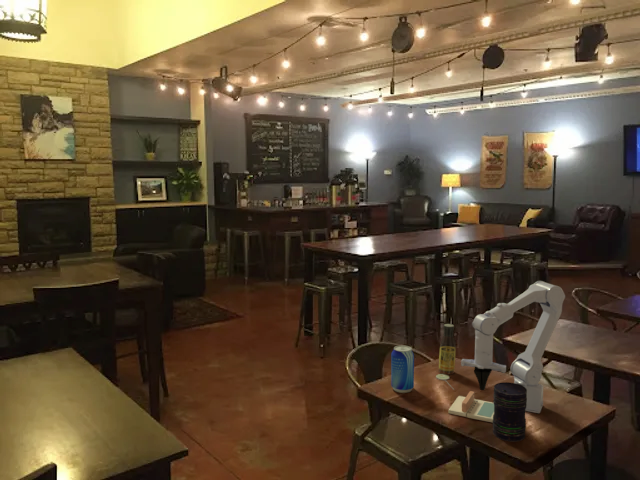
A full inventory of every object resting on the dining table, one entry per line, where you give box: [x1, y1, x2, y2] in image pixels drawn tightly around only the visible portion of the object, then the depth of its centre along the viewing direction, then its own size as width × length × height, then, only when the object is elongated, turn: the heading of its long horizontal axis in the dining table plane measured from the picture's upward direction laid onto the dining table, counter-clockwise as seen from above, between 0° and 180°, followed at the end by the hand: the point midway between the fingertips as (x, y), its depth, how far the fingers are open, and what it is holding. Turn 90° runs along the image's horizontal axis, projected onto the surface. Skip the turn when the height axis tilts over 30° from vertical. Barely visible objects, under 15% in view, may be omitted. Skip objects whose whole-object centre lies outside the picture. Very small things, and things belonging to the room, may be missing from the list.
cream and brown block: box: [447, 390, 476, 418], centre depth 193 cm, size 6×13×4 cm, turn 151°
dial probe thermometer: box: [435, 373, 455, 391], centre depth 216 cm, size 5×1×15 cm
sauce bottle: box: [438, 323, 457, 376], centre depth 225 cm, size 6×6×20 cm
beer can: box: [390, 345, 415, 394], centre depth 210 cm, size 8×8×16 cm
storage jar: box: [492, 381, 527, 443], centre depth 174 cm, size 10×10×15 cm
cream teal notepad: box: [466, 398, 494, 424], centre depth 190 cm, size 9×13×1 cm
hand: (482, 389), depth 189 cm, fingers closed
